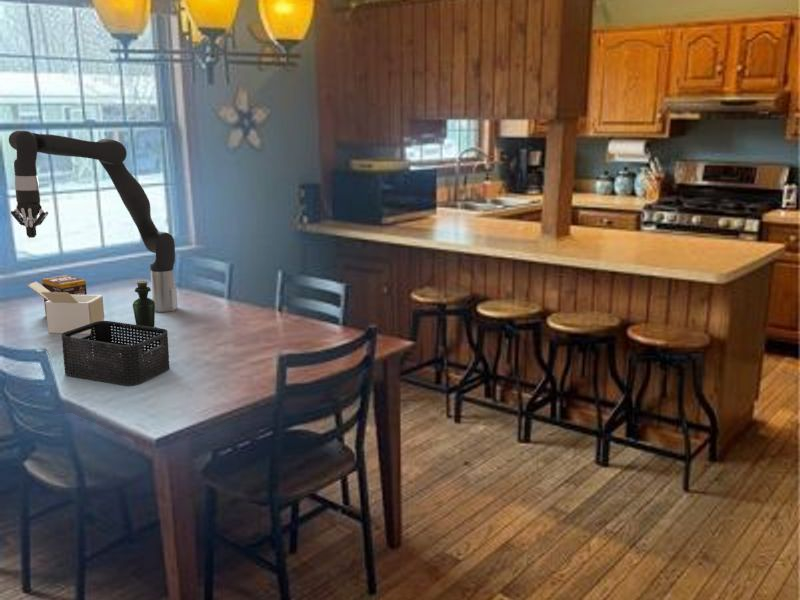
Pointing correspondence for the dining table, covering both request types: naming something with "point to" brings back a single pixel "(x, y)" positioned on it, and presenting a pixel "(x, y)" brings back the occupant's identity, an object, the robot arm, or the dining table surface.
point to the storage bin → (116, 353)
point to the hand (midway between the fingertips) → (31, 237)
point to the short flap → (38, 288)
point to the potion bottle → (144, 306)
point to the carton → (74, 313)
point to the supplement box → (65, 285)
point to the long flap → (59, 297)
